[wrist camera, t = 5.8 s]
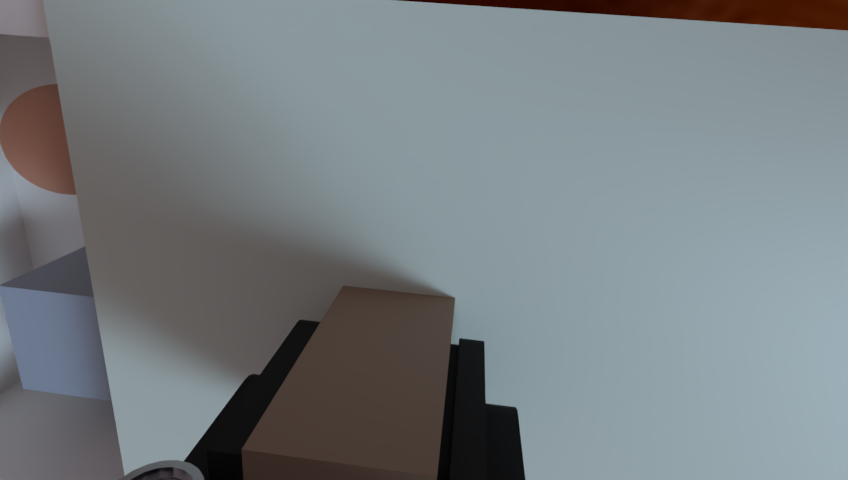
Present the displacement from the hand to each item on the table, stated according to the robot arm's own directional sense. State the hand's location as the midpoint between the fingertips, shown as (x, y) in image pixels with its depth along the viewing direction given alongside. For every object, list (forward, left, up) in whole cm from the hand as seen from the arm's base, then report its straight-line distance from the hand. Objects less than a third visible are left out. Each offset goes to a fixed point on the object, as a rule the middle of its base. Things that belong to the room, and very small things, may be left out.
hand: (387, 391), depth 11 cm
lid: (-3, 0, -2) cm, 3 cm away
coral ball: (+12, -3, -8) cm, 15 cm away
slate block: (+12, +3, -8) cm, 14 cm away
